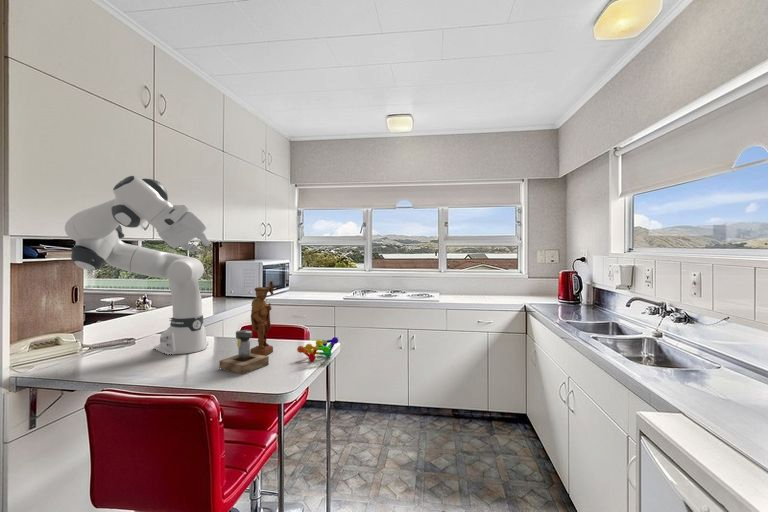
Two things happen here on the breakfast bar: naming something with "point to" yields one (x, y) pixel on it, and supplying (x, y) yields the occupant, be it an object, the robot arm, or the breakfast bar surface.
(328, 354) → the decorative model
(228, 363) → the wooden stand
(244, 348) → the knob stem
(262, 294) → the sculpture
